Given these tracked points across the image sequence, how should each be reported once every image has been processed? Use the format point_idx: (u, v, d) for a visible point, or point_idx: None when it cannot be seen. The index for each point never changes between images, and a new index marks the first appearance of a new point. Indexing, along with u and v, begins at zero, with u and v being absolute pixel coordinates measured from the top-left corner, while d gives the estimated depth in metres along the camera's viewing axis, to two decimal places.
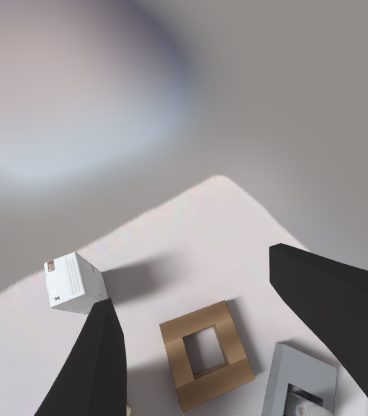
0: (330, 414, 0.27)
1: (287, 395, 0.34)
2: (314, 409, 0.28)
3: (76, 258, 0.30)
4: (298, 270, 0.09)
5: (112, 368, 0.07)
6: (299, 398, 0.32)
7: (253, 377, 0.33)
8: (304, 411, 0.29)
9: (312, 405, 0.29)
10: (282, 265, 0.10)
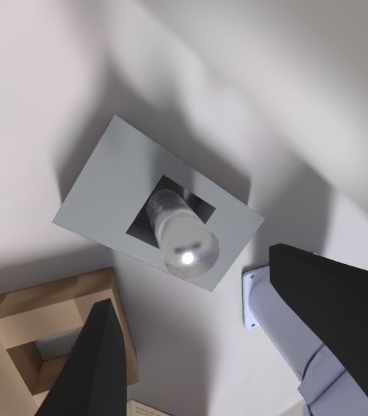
0: (178, 236, 0.12)
1: None
2: (163, 259, 0.13)
3: None
4: (298, 270, 0.09)
5: (112, 369, 0.07)
6: (152, 223, 0.16)
7: (108, 291, 0.18)
8: None
9: (159, 245, 0.13)
10: (282, 265, 0.10)
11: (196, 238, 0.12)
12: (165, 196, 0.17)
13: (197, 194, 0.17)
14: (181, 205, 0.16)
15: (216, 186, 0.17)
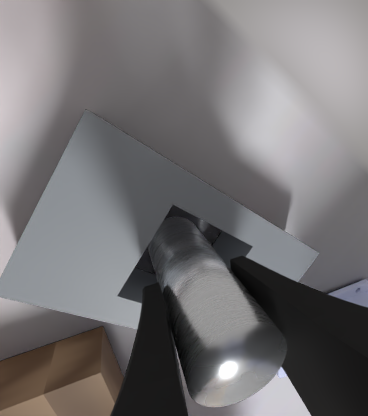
0: (214, 347, 0.06)
1: None
2: (185, 380, 0.07)
3: None
4: (253, 286, 0.08)
5: (173, 345, 0.07)
6: (158, 280, 0.10)
7: (97, 376, 0.12)
8: None
9: (175, 341, 0.08)
10: (240, 279, 0.09)
11: (248, 343, 0.06)
12: (175, 232, 0.12)
13: (225, 229, 0.11)
14: (205, 254, 0.10)
15: (254, 215, 0.11)
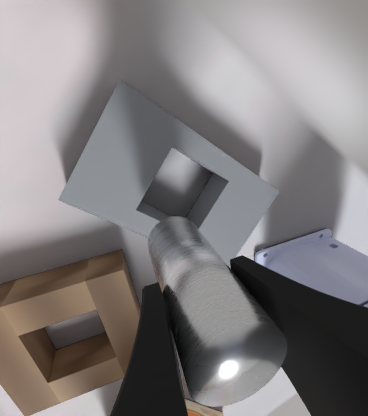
0: (214, 346, 0.06)
1: None
2: (185, 379, 0.07)
3: None
4: (253, 286, 0.08)
5: (172, 345, 0.07)
6: (158, 280, 0.10)
7: (121, 272, 0.17)
8: None
9: (175, 341, 0.08)
10: (240, 279, 0.09)
11: (248, 342, 0.06)
12: (175, 232, 0.11)
13: (209, 166, 0.16)
14: (205, 253, 0.10)
15: (228, 157, 0.16)
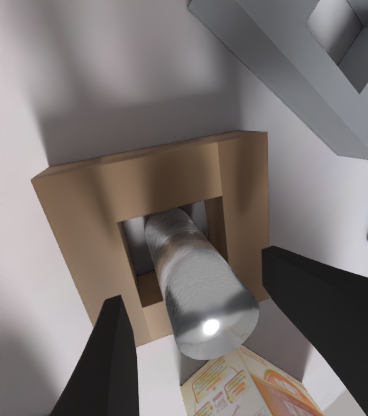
0: (197, 304, 0.07)
1: None
2: (174, 335, 0.08)
3: None
4: (289, 273, 0.09)
5: (125, 363, 0.07)
6: (153, 261, 0.12)
7: (263, 136, 0.12)
8: None
9: (166, 307, 0.09)
10: (274, 268, 0.10)
11: (225, 303, 0.08)
12: (169, 220, 0.13)
13: None
14: (194, 237, 0.11)
15: None
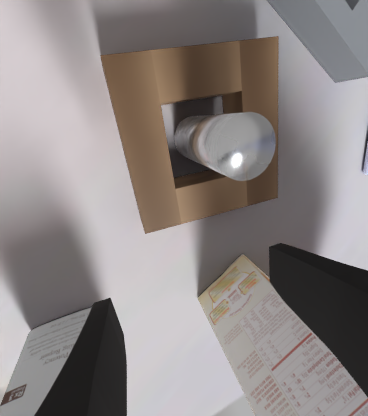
0: (232, 123, 0.10)
1: (178, 146, 0.17)
2: (213, 156, 0.11)
3: None
4: (298, 270, 0.09)
5: (112, 369, 0.07)
6: (187, 141, 0.15)
7: (275, 40, 0.15)
8: (209, 166, 0.13)
9: (205, 147, 0.12)
10: (282, 265, 0.10)
11: (252, 127, 0.11)
12: (197, 116, 0.16)
13: None
14: None
15: None
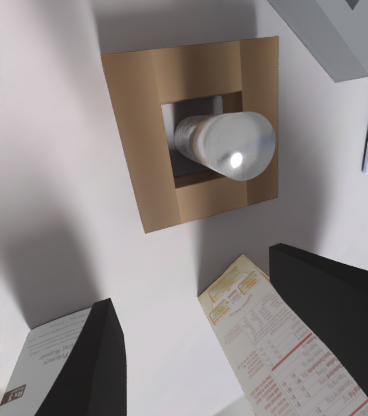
0: (231, 122, 0.10)
1: (178, 146, 0.17)
2: (212, 156, 0.11)
3: None
4: (298, 270, 0.09)
5: (112, 369, 0.07)
6: (186, 141, 0.15)
7: (275, 40, 0.15)
8: (208, 165, 0.13)
9: (204, 146, 0.12)
10: (282, 265, 0.10)
11: (251, 127, 0.11)
12: None
13: None
14: None
15: None
